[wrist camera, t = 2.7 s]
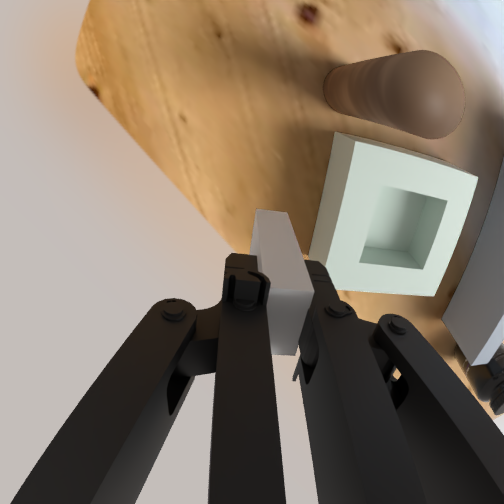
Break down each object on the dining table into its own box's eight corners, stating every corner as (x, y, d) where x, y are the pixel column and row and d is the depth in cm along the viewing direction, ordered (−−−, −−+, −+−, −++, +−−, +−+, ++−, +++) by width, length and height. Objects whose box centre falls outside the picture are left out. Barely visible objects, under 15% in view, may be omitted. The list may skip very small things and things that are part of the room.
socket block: (334, 131, 23) (355, 141, 18) (445, 161, 23) (478, 177, 19) (308, 255, 28) (319, 287, 23) (411, 267, 29) (433, 296, 24)
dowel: (327, 60, 20) (397, 37, 9) (375, 73, 20) (470, 70, 10) (319, 109, 22) (383, 125, 11) (367, 120, 22) (456, 149, 11)
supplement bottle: (444, 353, 35) (480, 420, 25) (477, 316, 32) (522, 381, 22) (466, 361, 37) (499, 421, 26) (496, 328, 34) (536, 386, 24)
